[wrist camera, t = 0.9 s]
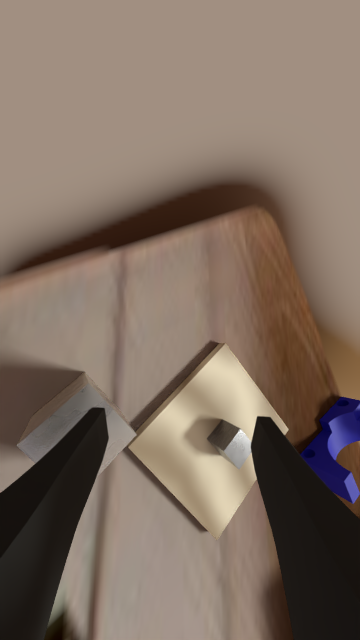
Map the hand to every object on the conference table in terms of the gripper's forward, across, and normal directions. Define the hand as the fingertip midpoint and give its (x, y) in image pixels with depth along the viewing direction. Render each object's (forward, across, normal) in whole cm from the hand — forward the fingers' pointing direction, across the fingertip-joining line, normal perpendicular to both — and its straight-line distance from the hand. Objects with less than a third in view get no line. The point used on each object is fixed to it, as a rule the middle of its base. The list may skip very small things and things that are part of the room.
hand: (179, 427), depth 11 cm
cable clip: (+17, -20, +19) cm, 32 cm away
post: (+10, -4, +12) cm, 16 cm away
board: (+10, -4, +12) cm, 17 cm away
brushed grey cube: (+7, +9, +7) cm, 13 cm away
